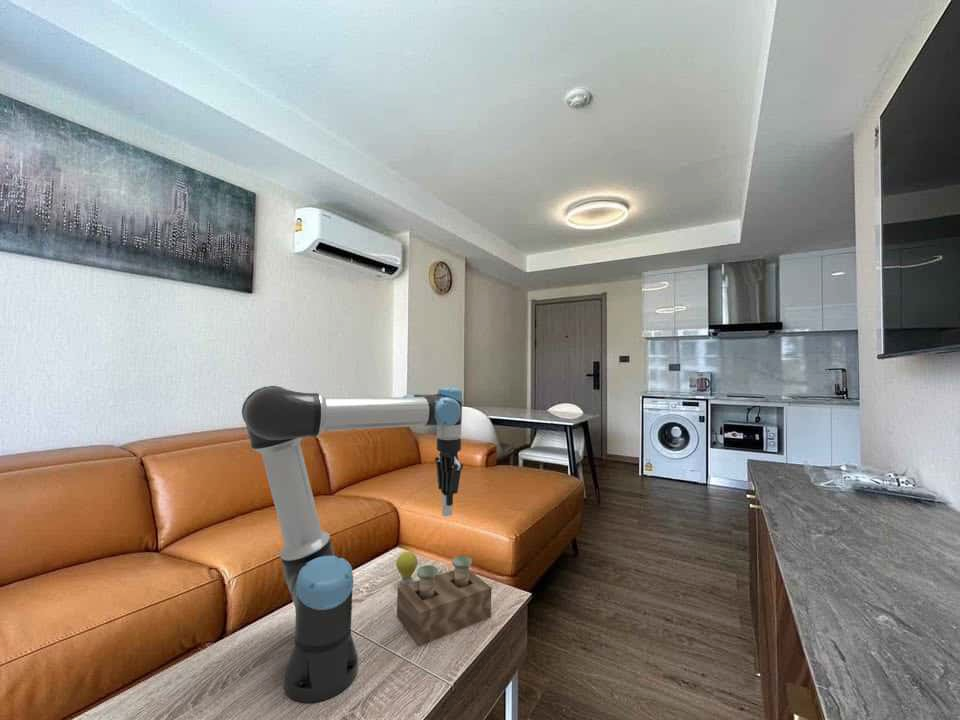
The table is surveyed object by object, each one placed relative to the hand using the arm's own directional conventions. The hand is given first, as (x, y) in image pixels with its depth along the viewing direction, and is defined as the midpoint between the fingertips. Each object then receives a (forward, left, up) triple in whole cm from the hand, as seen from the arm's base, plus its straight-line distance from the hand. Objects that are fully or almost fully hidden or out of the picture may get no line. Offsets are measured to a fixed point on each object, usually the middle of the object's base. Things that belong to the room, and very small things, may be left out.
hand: (447, 515), depth 120 cm
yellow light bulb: (-7, +12, -24) cm, 28 cm away
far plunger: (0, -9, -19) cm, 21 cm away
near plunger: (-11, -9, -19) cm, 24 cm away
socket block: (-5, -9, -24) cm, 26 cm away
